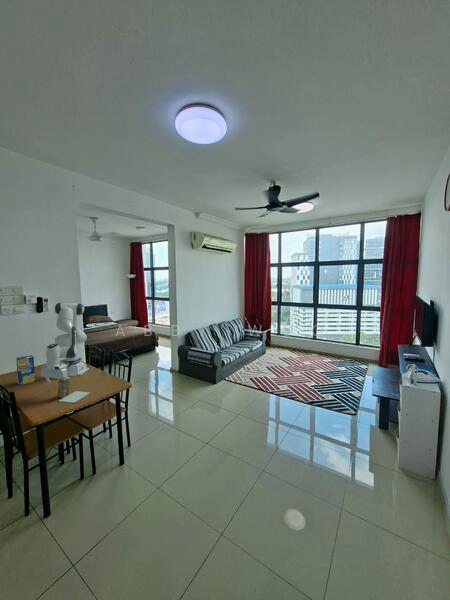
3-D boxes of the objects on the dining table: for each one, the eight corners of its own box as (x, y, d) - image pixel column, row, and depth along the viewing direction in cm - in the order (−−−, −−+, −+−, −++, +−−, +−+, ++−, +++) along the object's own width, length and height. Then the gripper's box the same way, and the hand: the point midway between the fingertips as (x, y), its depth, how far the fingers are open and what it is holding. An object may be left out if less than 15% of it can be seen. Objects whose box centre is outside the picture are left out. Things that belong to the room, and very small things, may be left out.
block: (62, 393, 188) (64, 376, 187) (68, 394, 187) (70, 377, 186) (57, 396, 183) (59, 378, 182) (63, 397, 182) (65, 380, 181)
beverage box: (35, 381, 210) (33, 356, 209) (18, 385, 202) (17, 359, 201) (33, 379, 215) (32, 355, 213) (17, 382, 207) (16, 357, 205)
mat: (75, 391, 193) (75, 390, 192) (90, 393, 190) (90, 392, 190) (58, 401, 177) (58, 400, 177) (75, 403, 175) (75, 402, 175)
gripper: (38, 366, 183) (38, 383, 184) (61, 367, 180) (62, 385, 181) (45, 363, 189) (46, 380, 190) (68, 365, 186) (69, 382, 187)
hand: (54, 383), depth 185 cm, fingers open, 8 cm apart
